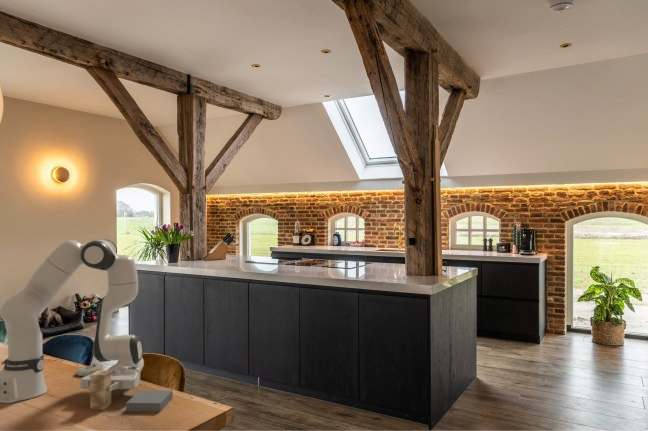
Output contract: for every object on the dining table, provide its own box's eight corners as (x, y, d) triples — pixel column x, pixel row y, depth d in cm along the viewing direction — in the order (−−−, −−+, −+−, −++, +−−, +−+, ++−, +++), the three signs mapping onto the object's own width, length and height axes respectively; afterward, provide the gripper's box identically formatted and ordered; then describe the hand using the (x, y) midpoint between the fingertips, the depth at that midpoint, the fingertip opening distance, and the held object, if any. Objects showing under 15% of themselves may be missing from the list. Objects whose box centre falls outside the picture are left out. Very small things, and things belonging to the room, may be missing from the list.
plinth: (126, 411, 162) (126, 402, 162) (140, 398, 174) (140, 390, 174) (160, 411, 162) (160, 403, 162) (172, 398, 174) (172, 390, 174)
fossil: (89, 359, 210) (109, 363, 208) (88, 367, 210) (108, 371, 208) (71, 366, 199) (92, 371, 197) (70, 375, 199) (91, 379, 197)
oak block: (90, 409, 164) (90, 375, 164) (97, 403, 169) (97, 370, 169) (104, 409, 164) (104, 375, 164) (111, 403, 169) (111, 370, 169)
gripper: (91, 367, 180) (70, 379, 166) (143, 367, 179) (127, 380, 165) (91, 383, 180) (70, 397, 166) (143, 384, 179) (127, 398, 165)
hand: (99, 389), depth 166 cm, fingers closed on oak block, 5 cm apart
